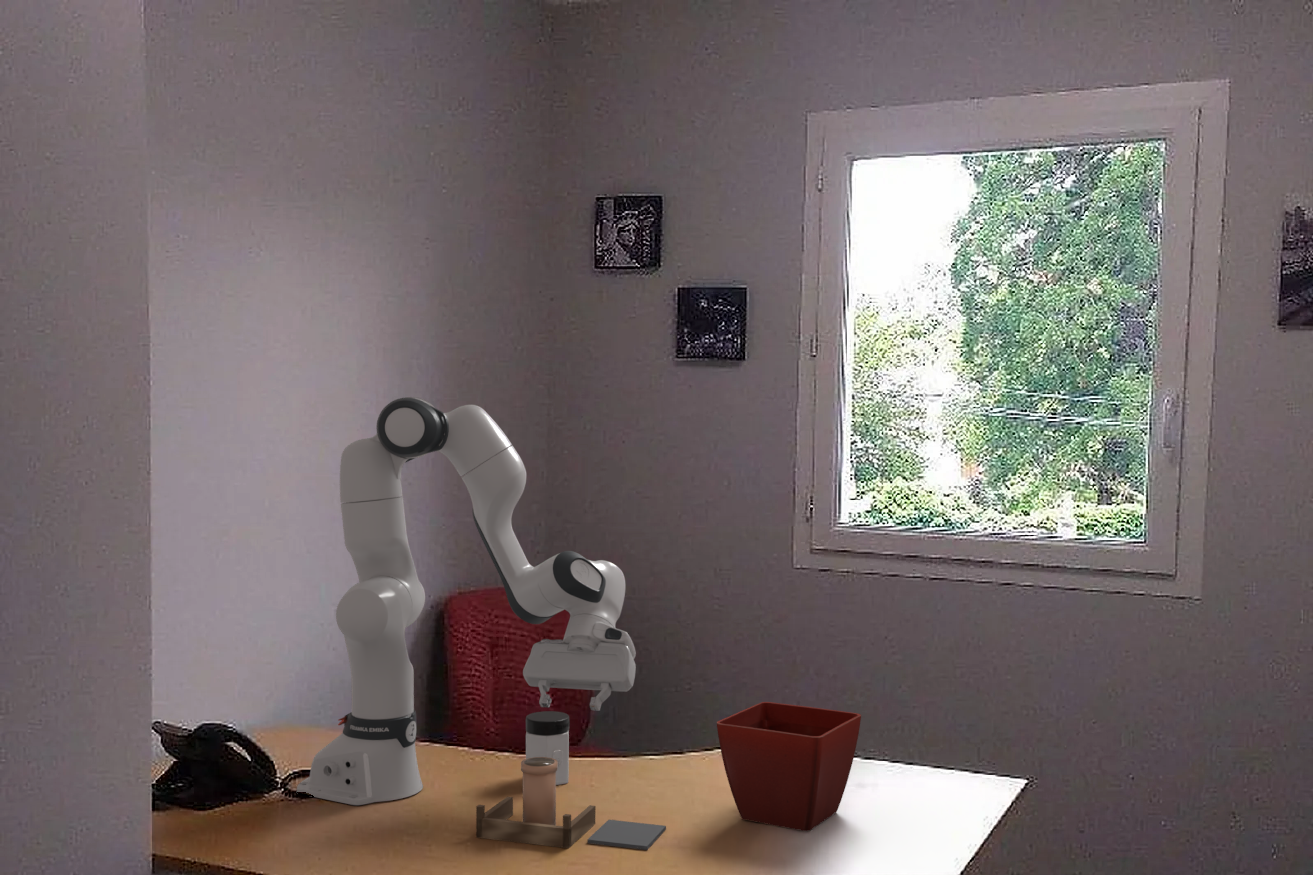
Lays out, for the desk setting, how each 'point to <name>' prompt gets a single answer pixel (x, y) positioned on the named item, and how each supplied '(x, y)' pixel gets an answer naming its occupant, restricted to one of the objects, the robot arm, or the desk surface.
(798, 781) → the plant pot
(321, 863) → the desk surface
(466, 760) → the desk surface
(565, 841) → the low fence
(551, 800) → the pot
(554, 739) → the jar
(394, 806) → the desk surface
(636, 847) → the mat
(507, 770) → the desk surface
